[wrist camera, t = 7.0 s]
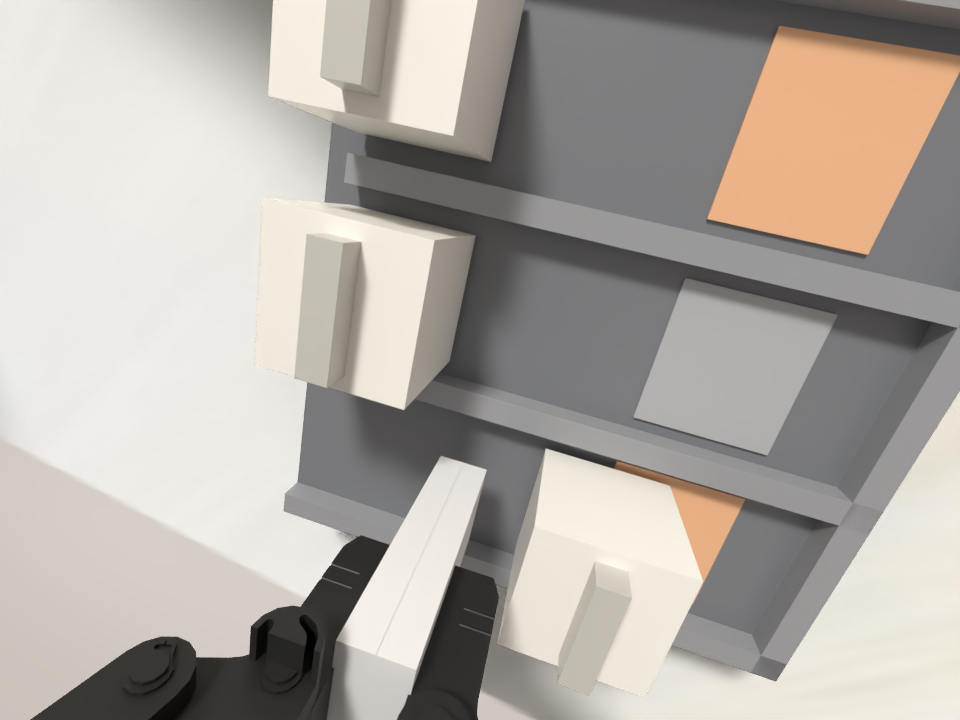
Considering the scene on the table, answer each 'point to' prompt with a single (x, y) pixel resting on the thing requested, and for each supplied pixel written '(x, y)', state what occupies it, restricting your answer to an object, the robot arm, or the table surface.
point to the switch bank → (684, 290)
